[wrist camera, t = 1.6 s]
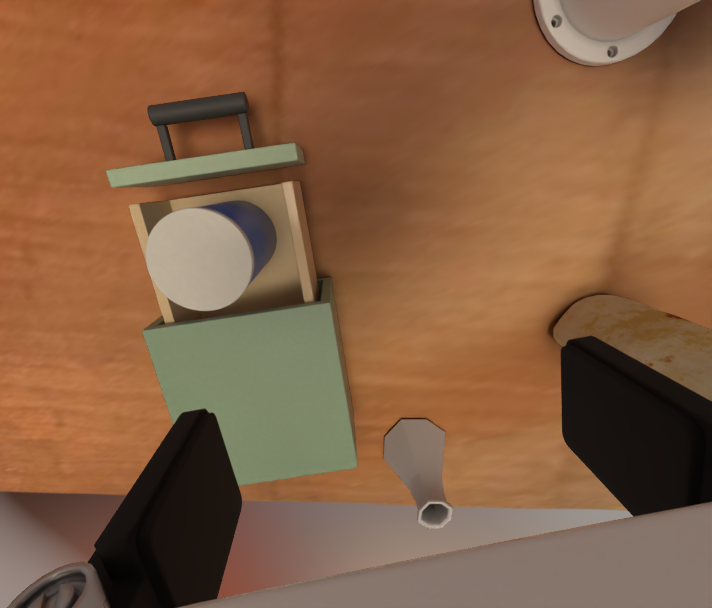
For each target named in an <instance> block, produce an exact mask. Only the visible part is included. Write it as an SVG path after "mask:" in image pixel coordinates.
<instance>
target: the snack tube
mask: <svg viewBox="0 0 712 608" xmlns="http://www.w3.org/2000/svg"><path fill="white" fill-rule="evenodd" d="M276 243H277V236H276V230H275V227H274V225H273V222H272V221H271V219H270V218H269V216H268V215H267V214H266V213H265V212H264V211H263V210H262V209H261V208H259V207H258V206H256V205H254V204H252V203H249V202H246V201H239V200H235V201H228V202H222V203H217V204H211V205H206V206H200V207H192V208H185V209H180V210H177V211H174V212H172V213H170V214H168V215H166V216H165V217H163V218H162V219H161V220H160V221H159V222H158V223H157V224H156V225H155V226H154V228H153V229H152V231H151V233H150V235H149V237H148V240H147V244H146V255H145V256H146V264H147V268H148V271H149V274H150V276H151V278H152V280H153V282H154V283H155V285H156V286H157V288H158V289H159V290H160V291H161V292H162V293H163V294H164V295H165V296H166V297H167V298H169V299H170V300H171V301H173V302H174V303H176V304H178V305H180V306H183V307H185V308H188V309H192V310H197V311H213V310H217V309H221V308H224V307H226V306H228V305H230V304H232V303H233V302H235V301H236V300H237V299H238V298H239V297H240V296H241V295H242V294H243V293H244V292H245V290H246V289H247V287H248V286H249V284H250V283H251V282H252V281H253V280H254V278H255V277H256V276H257V275H258V274H259V272H260V271H261V270H262V269H263V268H264V266H265V265H266V264H267V263H268V262H269V260H270V259H271V258H272V256H273V254H274V252H275V248H276Z"/></svg>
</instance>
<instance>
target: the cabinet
mask: <svg viewBox="0 0 712 608" xmlns="http://www.w3.org/2000/svg"><path fill="white" fill-rule="evenodd" d="M317 282H318V287H319V293H320V299H321V301H318V302H312V303H305V304H298V305H292V306H285V307H278V308H272V309H265V310H258V311H251V312H245V313H238V314H231V315H225V316H218V317H211V318H205V319H198V320H191V321H185V322H178V323H171V324H165V322H164V319H163V315H162V316H161V317H160V318H158V319H157V320H156V321H154V322H153V323H152V324H150V325H149V326H148V327H146V328H145V329H144V330H142V332H143V335H144V338H145V341H146V344H147V347H148V350H149V353H150V356H151V359H152V362H153V365H154V368H155V371H156V374H157V377H158V380H159V383H160V386H161V389H162V392H163V395H164V398H165V401H166V404H167V407H168V410H169V413H170V416H171V419H172V422H173V425H174V423H175V422H176V420H177V419H178V417H179V416H180V414H181V413H183V412H188V411H193V410H198V409H204V408H205V409H206V410H207V411H208V412H209V413H212V412H213V413H214V414H215V415H216V418H217V421H218V424H219V427H220V430H221V433H222V436H223V440H224V443H225V446H226V449H227V452H228V455H229V458H230V461H231V465H232V468H233V471H234V474H235V477H236V480H237V483H238V486H240V485H247V484H253V483H260V482H266V481H273V480H279V479H286V478H292V477H299V476H306V475H312V474H319V473H325V472H332V471H338V470H345V469H351V468H358V462H357V449H356V437H355V424H354V412H353V406H352V400H351V394H350V388H349V382H348V376H347V370H346V364H345V358H344V352H343V346H342V339H341V333H340V327H339V321H338V315H337V309H336V303H335V297H334V291H333V285H332V279H331V277H326V278H319V279H317Z"/></svg>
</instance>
